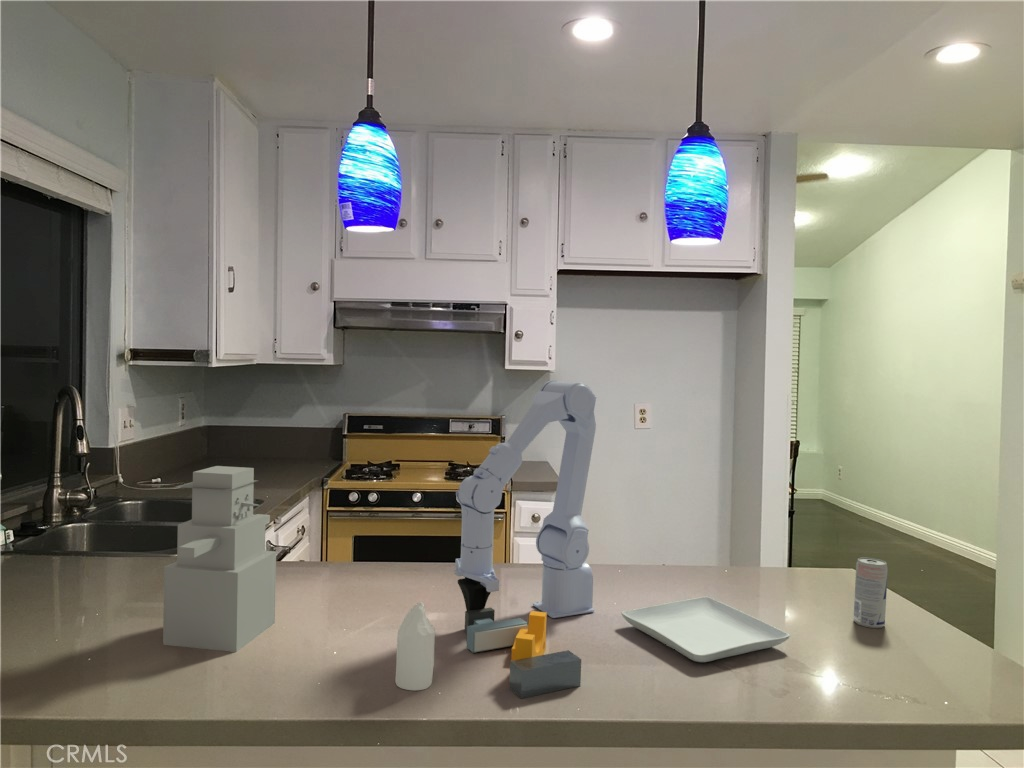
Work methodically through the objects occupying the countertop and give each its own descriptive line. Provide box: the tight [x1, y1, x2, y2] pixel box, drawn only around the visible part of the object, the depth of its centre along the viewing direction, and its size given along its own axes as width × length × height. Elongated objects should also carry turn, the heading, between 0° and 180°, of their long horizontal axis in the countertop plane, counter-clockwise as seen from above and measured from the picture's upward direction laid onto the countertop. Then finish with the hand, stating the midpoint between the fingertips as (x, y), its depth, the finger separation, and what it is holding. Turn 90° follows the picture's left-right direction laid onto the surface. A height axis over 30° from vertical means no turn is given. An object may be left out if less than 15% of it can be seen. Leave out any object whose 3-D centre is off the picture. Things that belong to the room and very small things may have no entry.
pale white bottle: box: [395, 601, 436, 691], centre depth 107 cm, size 6×12×6 cm
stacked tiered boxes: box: [162, 465, 277, 653], centre depth 122 cm, size 13×24×28 cm, turn 171°
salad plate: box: [620, 595, 791, 663], centre depth 127 cm, size 21×21×3 cm
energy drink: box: [853, 557, 889, 629], centre depth 137 cm, size 5×5×12 cm
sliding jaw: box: [464, 607, 529, 654], centre depth 123 cm, size 10×10×4 cm
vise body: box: [509, 650, 582, 699], centre depth 107 cm, size 10×4×4 cm, turn 117°
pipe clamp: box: [510, 610, 548, 661], centre depth 114 cm, size 12×4×6 cm, turn 167°
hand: (474, 619), depth 129 cm, fingers closed
